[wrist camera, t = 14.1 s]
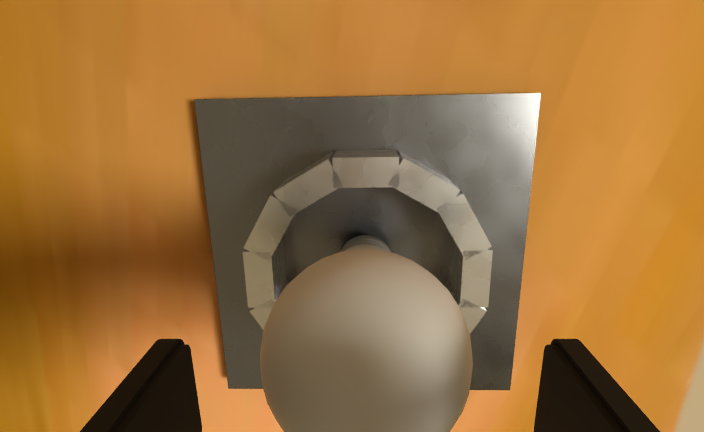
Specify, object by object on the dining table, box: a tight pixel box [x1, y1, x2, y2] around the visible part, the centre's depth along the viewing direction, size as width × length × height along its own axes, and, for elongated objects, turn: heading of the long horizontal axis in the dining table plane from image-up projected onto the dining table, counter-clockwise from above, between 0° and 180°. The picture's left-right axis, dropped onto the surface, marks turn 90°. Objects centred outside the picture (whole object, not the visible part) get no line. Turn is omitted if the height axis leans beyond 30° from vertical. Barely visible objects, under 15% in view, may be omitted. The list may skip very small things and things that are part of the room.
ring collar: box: [194, 93, 541, 390], centre depth 19 cm, size 15×15×4 cm
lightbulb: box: [260, 235, 473, 432], centre depth 15 cm, size 6×6×11 cm
